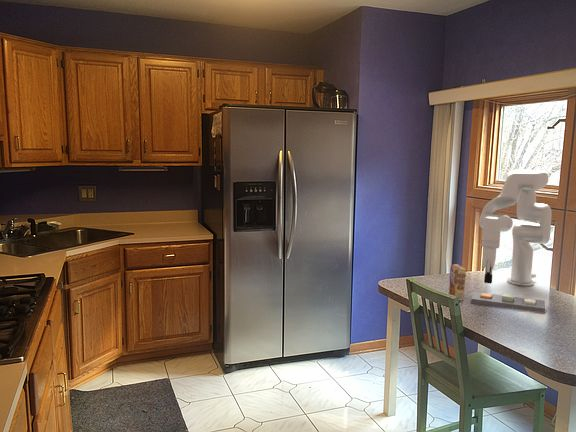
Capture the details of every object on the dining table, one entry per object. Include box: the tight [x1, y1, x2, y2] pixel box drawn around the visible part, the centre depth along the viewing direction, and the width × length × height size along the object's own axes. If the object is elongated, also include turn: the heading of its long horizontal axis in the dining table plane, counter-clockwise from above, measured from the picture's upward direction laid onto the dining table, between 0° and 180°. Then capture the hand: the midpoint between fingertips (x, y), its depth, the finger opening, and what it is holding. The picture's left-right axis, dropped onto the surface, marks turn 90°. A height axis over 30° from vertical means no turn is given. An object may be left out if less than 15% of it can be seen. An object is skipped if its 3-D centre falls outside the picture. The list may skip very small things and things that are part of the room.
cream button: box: [523, 297, 536, 305], centre depth 213 cm, size 4×4×2 cm
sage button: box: [502, 293, 514, 302], centre depth 217 cm, size 4×4×2 cm
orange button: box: [481, 292, 493, 299], centre depth 221 cm, size 4×4×2 cm
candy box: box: [448, 263, 467, 302], centre depth 224 cm, size 9×4×15 cm, turn 2°
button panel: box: [470, 291, 546, 314], centre depth 217 cm, size 12×30×2 cm, turn 64°
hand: (488, 282), depth 220 cm, fingers closed
